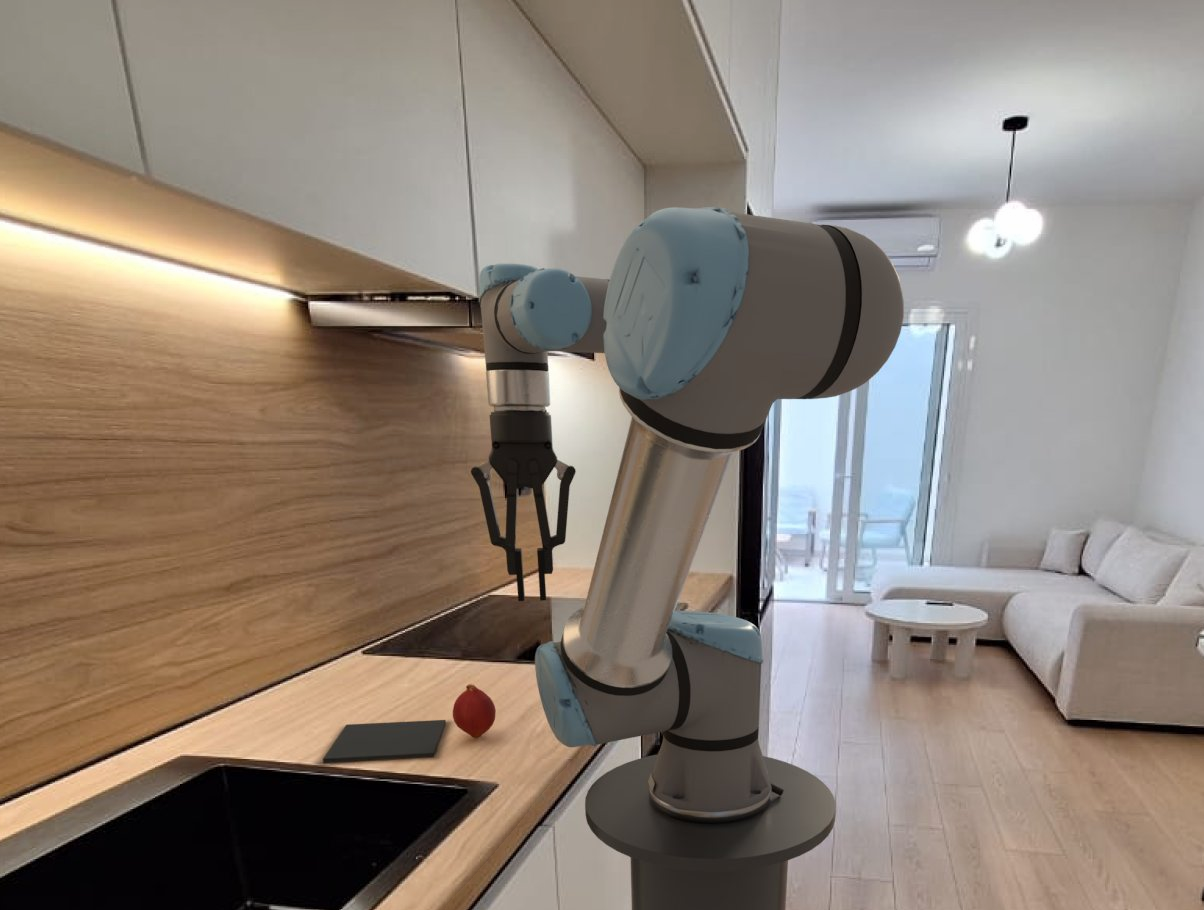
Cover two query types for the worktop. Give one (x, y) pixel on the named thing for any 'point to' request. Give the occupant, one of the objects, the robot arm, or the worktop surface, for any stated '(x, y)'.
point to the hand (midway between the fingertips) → (532, 598)
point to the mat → (386, 741)
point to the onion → (474, 711)
